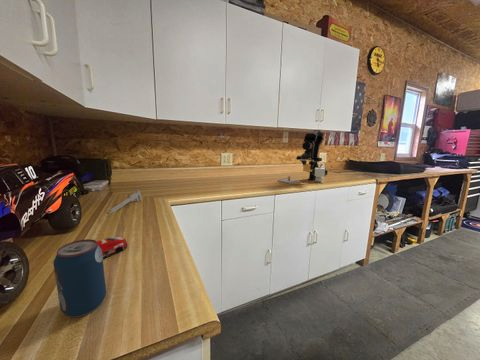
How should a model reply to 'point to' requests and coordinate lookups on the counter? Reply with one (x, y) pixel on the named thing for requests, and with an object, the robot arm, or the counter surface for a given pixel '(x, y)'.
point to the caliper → (134, 196)
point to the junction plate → (288, 180)
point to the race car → (112, 246)
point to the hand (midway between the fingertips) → (307, 169)
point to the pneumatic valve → (319, 173)
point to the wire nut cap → (307, 168)
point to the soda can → (80, 277)
